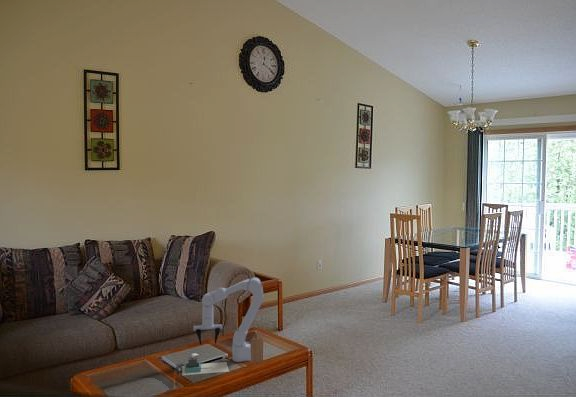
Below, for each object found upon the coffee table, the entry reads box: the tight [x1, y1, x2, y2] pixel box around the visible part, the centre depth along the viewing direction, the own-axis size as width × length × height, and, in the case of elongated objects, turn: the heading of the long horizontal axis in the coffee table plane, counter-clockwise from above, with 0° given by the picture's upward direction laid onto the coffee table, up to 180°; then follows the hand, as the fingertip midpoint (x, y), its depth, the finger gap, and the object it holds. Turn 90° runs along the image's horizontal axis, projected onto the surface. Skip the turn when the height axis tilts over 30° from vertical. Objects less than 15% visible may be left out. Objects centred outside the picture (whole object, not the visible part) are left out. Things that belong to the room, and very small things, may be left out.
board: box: [181, 361, 230, 376], centre depth 230 cm, size 22×13×3 cm, turn 103°
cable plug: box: [187, 355, 198, 368], centre depth 228 cm, size 4×4×6 cm
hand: (207, 343), depth 242 cm, fingers open, 7 cm apart
